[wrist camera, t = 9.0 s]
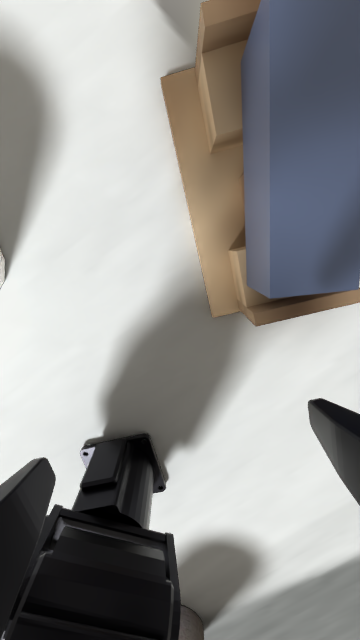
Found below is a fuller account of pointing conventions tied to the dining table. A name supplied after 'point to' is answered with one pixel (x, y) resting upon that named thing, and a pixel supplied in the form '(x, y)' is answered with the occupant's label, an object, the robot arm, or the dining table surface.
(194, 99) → the display cradle
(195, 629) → the pillar candle
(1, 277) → the white cup
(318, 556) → the dining table surface
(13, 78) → the dining table surface
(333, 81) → the tall slate-blue box
